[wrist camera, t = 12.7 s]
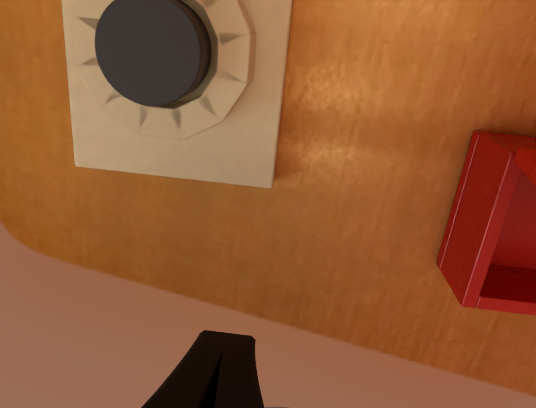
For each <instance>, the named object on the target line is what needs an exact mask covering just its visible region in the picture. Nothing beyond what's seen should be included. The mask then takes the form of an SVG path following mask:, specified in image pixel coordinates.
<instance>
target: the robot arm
mask: <svg viewBox="0 0 536 408" xmlns="http://www.w3.org/2000/svg"><path fill="white" fill-rule="evenodd" d="M141 408H264V405H263V400H262V397H261V391H260V387H259V382H258V376H257V369H256V361H255V339H254V338H253V337H252V336H248V335H240V334H232V333H224V332H216V331H207V330H204V331H203V332H201V333H200V334H199V336H198V337H197V339H196V341H195V342H194V344H193V345H192V347H191V348H190V349H189V351H188V352H187V353H186V355H185V356H184V358H183V359H182V360H181V361H180V363H179V364H178V365H177V367H176V368H175V369H174V370H173V372H172V373H171V374H170V375H169V377H168V378H167V379H166V380H165V381H164V383H163V384H162V385H161V386H160V387H159V389H158V390H157V391H156V392H155V393H154V394H153V395H152V396H151V398H150V399H149V400H148V401H147V402H146V403H145V404H144V405H143V406H142V407H141Z"/></svg>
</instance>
